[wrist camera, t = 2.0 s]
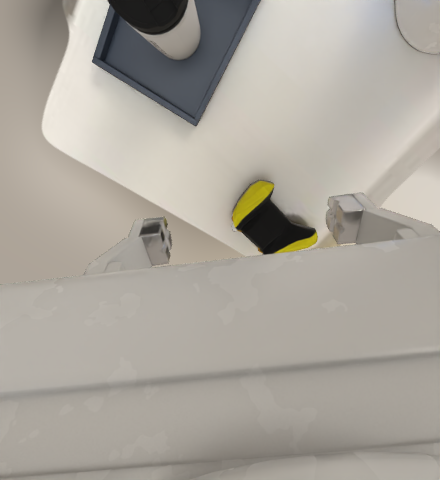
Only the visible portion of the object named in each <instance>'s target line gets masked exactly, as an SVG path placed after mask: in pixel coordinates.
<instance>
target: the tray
mask: <svg viewBox="0 0 440 480" xmlns="http://www.w3.org/2000/svg"><path fill="white" fill-rule="evenodd" d="M260 1H261V0H194V2H195V6H196V11H197V15H198V19H199V24H200V30H201V36H200V42H199V45H198V48H197V49H196V51H195V52H194V54H193V55H191V56H190V57H189V58H187V59H184V60H173V59H170V58H168V57H167V56H165V55H164V54H163V53H162V52H160V51H159V50H158V49H157V48H156V47H155V46H153V45H152V44H151V43H150V42H149V41H147V40H146V39H145V38H144V37H143V36H142V35H140V34H139V33H138V32H137V31H136V30H135V29H133V28H132V27H131V26H130V25H129V24H128V23H127V22H126V21H125V20H124V19H123V18H122V17H121V16H120V15H119V14H117V13H116V11H115V10H114V9H113V7H112V6H111V5H110V6H109V9H108V12H107V16H106V19H105V22H104V25H103V28H102V31H101V34H100V38H99V41H98V44H97V47H96V50H95V53H94V56H93V60H92V62H93V63H94V64H96V65H97V66H99V67H101V68H102V69H104V70H105V71H107V72H109V73H110V74H112V75H114V76H115V77H117V78H118V79H120V80H122V81H123V82H125V83H127V84H128V85H130V86H131V87H133V88H135V89H136V90H138V91H139V92H141V93H143V94H144V95H146V96H148V97H149V98H151V99H152V100H154V101H156V102H157V103H159V104H160V105H162V106H164V107H165V108H167V109H169V110H170V111H172V112H173V113H175V114H177V115H178V116H180V117H181V118H183V119H185V120H186V121H188V122H190V123H191V124H193V125H194V126H197V124H198V122H199V120H200V118H201V116H202V114H203V112H204V111H205V109H206V107H207V105H208V103H209V101H210V99H211V97H212V95H213V93H214V91H215V89H216V87H217V85H218V83H219V81H220V79H221V77H222V75H223V73H224V71H225V69H226V67H227V65H228V63H229V61H230V59H231V58H232V56H233V54H234V52H235V50H236V48H237V46H238V44H239V42H240V40H241V38H242V36H243V34H244V32H245V30H246V28H247V26H248V24H249V22H250V20H251V18H252V16H253V14H254V12H255V10H256V8H257V6H258V4H259V3H260Z"/></svg>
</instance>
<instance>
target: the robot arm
mask: <svg viewBox="0 0 440 480" xmlns="http://www.w3.org/2000/svg"><path fill="white" fill-rule="evenodd" d="M395 11H396V18H397V23H398V26H399V29H400V31H401V33H402V35H403V37H404V38H405V40H406V41H407V42H408V43H409V44H410V45H411V46H412V47H414V48H415V49H417V50H419V51H422V52H425V53H432V54H437V53H440V0H395ZM328 206H329V208H330V209H329V210H328V211H327V212H326V224H327V227H328V229H329V231H331V232H333V237H334V239H335V240H336V242H337V244H344V243H356V244H355V245H346V246H337V247H329V248H320V249H311V250H302V251H293V252H285V253H276V254H267V255H258V256H249V257H241V258H232V259H223V260H214V261H205V262H196V263H188V264H180V265H170V266H161V267H153V268H151V267H152V266H153V265H160V264H167V263H169V259H170V252H169V250H171V247H172V240H171V234H170V231H169V230H168V229H167V225H168V224H167V220H166V218H165V217H156V218H147V219H138V220H135V221H134V223H133V225H132V228H131V230H130V233H129V236H128V238H125V239H123V240H122V241H120V242H119V243H117V244H116V245H115V246H114V247H112V248H111V249H109V250H108V251H106V252H105V253H104V254H102V255H101V256H99V257H98V258H97V259H95V260H94V261H92V262H91V263H90V264H89V265H88V267H87V269H86V271H85V273H84V275H82V276H73V277H64V278H56V279H46V280H38V281H29V282H20V283H9V284H0V480H440V231H438V230H437V229H436V228H435V227H434V226H433V225H431V224H428V223H425V222H422V221H419V220H416V219H413V218H410V217H407V216H404V215H401V214H398V213H395V212H392V211H389V210H386V209H383V208H377V207H376V206H375V205H374V204H373V203H372V202H371V201H370V200H369V199H368V198H367V197H366V196H365V194H364V193H361V192H359V193H353V194H346V195H340V196H333V197H329V199H328Z"/></svg>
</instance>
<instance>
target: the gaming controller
mask: <svg viewBox="0 0 440 480" xmlns="http://www.w3.org/2000/svg"><path fill="white" fill-rule="evenodd" d="M273 189H274V183H273V182H271V181H266V180H257V181H255V182H254V183H252V184H250V186H249V187H248V188H247V189H246V191H245V192H244V193H243V195H242V196H241V197H240V199H239V200H238V202H237V204H236V206H235V208H234V210H233V216H232V221H233V224H232V226H231V227H232V230H233V231H240V232H242V233H243V234H244V235H245V236H246V237H247V238H248V239H249V240H250V241H251V242H253V243H254V244H255V245H256V246H257V247H258V251H260V252H261V253H263V255H267V254H276V253H285V252H293V251H297V250H301V249H305V248H308V247H310V246H312V245H313V244H315V243H316V242H317V238H318V236H317V232H316V230H315V228H311V227H307V226H302V225H299V224H295V223H293V222H291V221H289V220H288V219H287V218H286V217H285V215H284V214H283V213H282V212H281V211H280V210H279V209H278V208H277V207H276V206H275V205H274V204H273V203H272V202H271V200H270V197H271V195H272V192H273Z"/></svg>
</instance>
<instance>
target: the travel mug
mask: <svg viewBox="0 0 440 480" xmlns="http://www.w3.org/2000/svg"><path fill="white" fill-rule="evenodd" d="M108 2H109V4H110V5H111V6H112V7H113V9H114V10H115V11H116V13H117V14H119V15H120V16H121V17H122V18H123V19H124V20H125V21H126V22H127V23H128V24H129V25H130V26H131V27H132V28H133V29H135V30H136V31H137V32H138V33H139V34H140V35H142V36H143V37H144V38H145V39H146V40H147V41H149V42H150V43H151V44H152V45H153V46H155V47H156V48H157V49H158V50H159V51H160V52H162V53H163V54H164V55H165V56H167V57H168V58H170V59H173V60H184V59H187V58H189V57H190V56H191V55H193V54H194V52H195V51H196V49H197V48H198V45H199V42H200V36H201V30H200V24H199V19H198V15H197V11H196V6H195V2H194V0H108Z"/></svg>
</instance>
